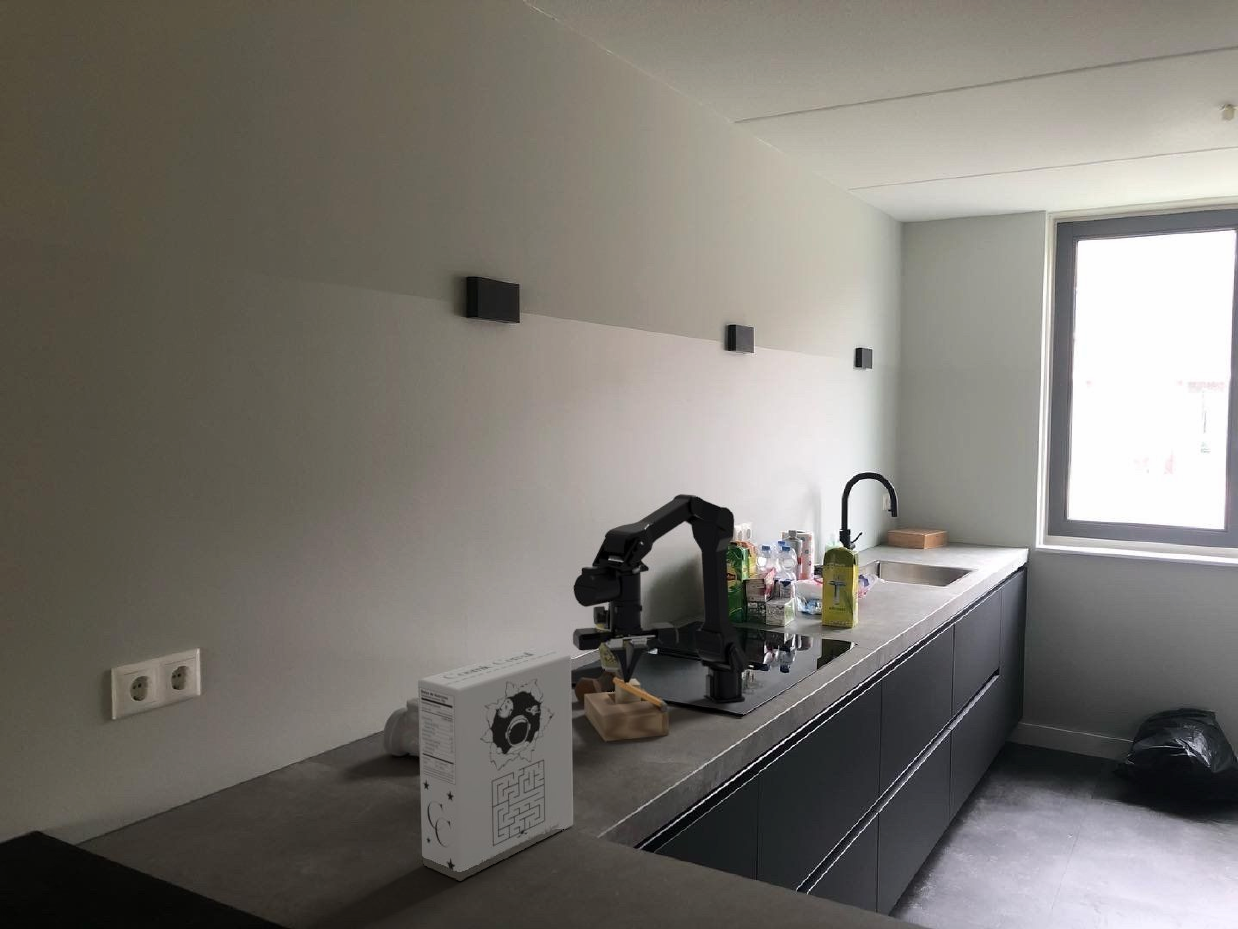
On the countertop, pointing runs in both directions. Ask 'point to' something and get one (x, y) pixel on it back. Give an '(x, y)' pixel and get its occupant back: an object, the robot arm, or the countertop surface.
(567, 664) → the cereal box
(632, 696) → the peg
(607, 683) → the bolt
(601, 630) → the ceramic cup
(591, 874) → the countertop surface
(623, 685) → the gate
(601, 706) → the block
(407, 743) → the pipe fitting
